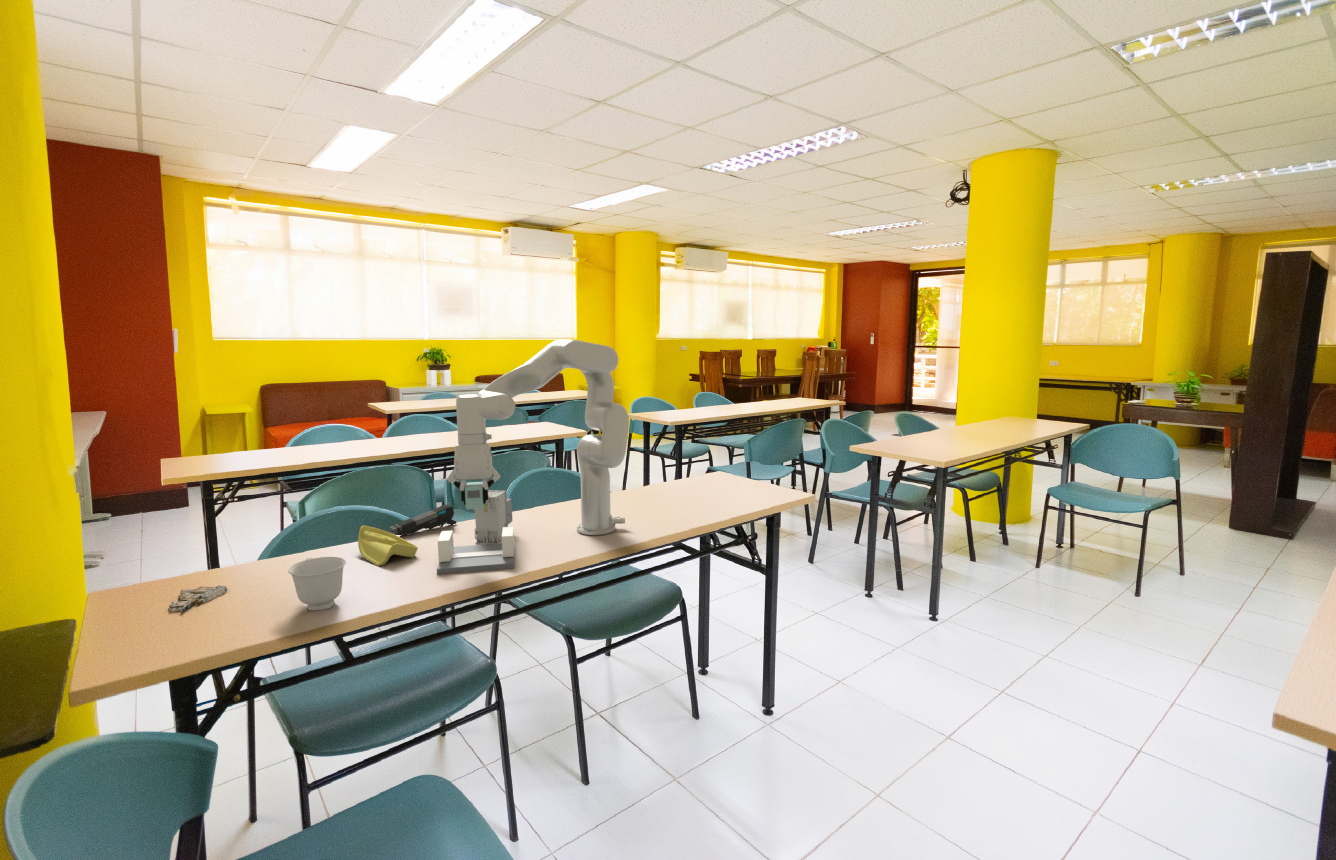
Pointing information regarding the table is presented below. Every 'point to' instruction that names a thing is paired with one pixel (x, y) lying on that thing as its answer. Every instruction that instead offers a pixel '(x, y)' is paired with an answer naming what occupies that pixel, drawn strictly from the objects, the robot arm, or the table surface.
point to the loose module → (474, 495)
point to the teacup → (318, 581)
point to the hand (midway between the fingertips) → (475, 502)
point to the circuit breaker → (493, 518)
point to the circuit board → (196, 597)
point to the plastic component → (382, 545)
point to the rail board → (475, 554)
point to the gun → (425, 521)
